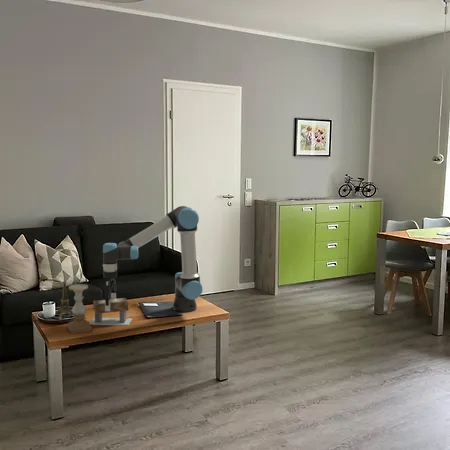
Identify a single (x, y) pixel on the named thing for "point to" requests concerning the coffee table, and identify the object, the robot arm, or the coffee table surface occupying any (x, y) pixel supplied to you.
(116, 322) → the board
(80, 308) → the candle holder
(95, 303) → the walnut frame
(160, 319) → the coffee table surface
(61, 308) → the eiffel tower
